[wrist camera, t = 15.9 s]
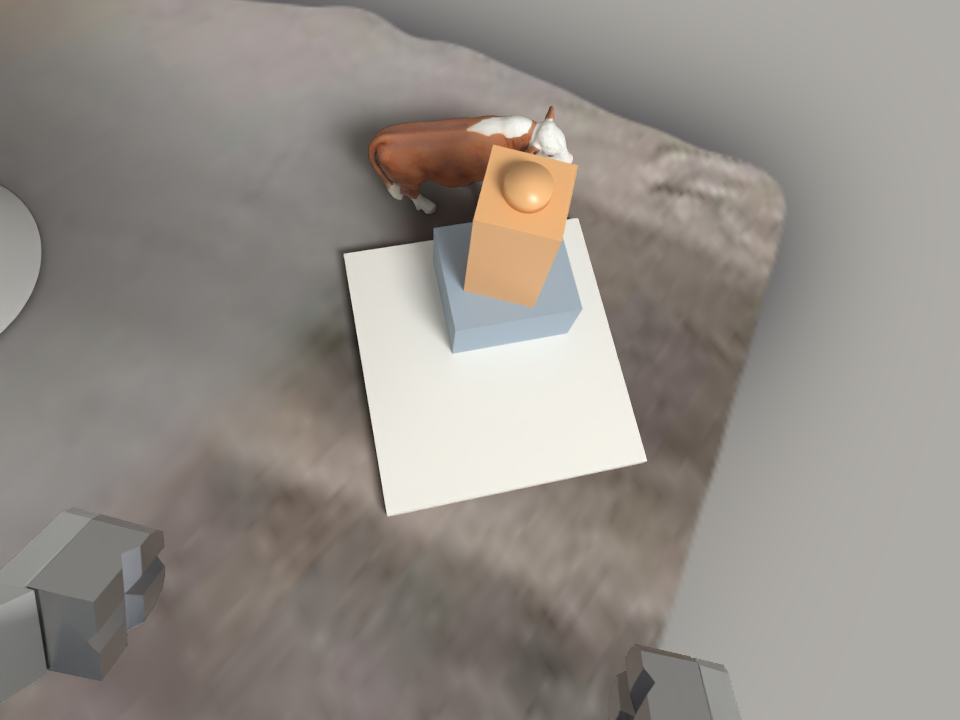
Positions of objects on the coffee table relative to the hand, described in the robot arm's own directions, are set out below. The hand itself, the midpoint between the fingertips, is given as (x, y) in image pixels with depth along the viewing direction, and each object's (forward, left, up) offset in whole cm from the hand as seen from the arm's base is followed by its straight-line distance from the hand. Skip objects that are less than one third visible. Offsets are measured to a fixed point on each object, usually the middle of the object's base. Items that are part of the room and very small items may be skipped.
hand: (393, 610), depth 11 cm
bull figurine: (+8, +25, -30) cm, 40 cm away
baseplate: (+7, +12, -29) cm, 33 cm away
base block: (+9, +16, -28) cm, 34 cm away
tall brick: (+9, +17, -24) cm, 30 cm away
